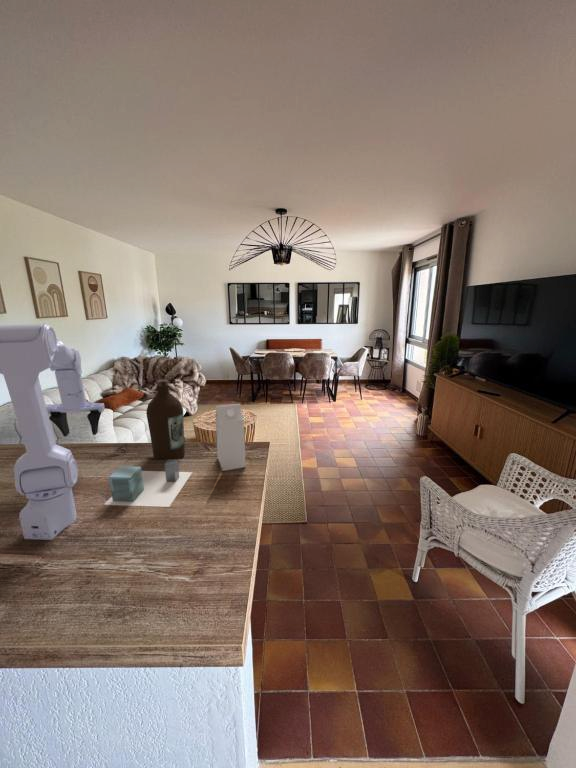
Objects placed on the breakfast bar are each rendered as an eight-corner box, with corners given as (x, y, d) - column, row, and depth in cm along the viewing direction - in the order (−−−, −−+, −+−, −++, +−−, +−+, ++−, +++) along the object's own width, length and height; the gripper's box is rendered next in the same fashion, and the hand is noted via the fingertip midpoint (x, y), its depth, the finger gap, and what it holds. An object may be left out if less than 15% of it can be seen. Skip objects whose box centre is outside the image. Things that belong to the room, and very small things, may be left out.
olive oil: (144, 461, 101) (134, 383, 95) (167, 447, 111) (159, 375, 105) (172, 466, 98) (164, 386, 92) (193, 451, 108) (187, 378, 101)
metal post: (175, 482, 87) (173, 464, 86) (166, 482, 88) (164, 464, 86) (179, 477, 90) (177, 459, 89) (170, 477, 90) (168, 459, 89)
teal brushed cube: (133, 502, 79) (130, 477, 77) (112, 501, 79) (109, 476, 77) (144, 489, 84) (141, 466, 82) (124, 489, 84) (121, 466, 82)
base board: (169, 511, 77) (169, 506, 77) (104, 508, 78) (103, 504, 78) (192, 476, 93) (192, 472, 92) (138, 474, 94) (137, 470, 93)
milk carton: (217, 461, 101) (214, 402, 97) (240, 457, 104) (237, 400, 99) (221, 471, 95) (218, 410, 90) (245, 467, 97) (243, 407, 93)
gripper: (105, 385, 95) (112, 426, 100) (49, 386, 93) (59, 428, 98) (96, 394, 89) (104, 437, 94) (36, 396, 86) (48, 440, 91)
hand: (81, 434), depth 95 cm, fingers open, 7 cm apart
